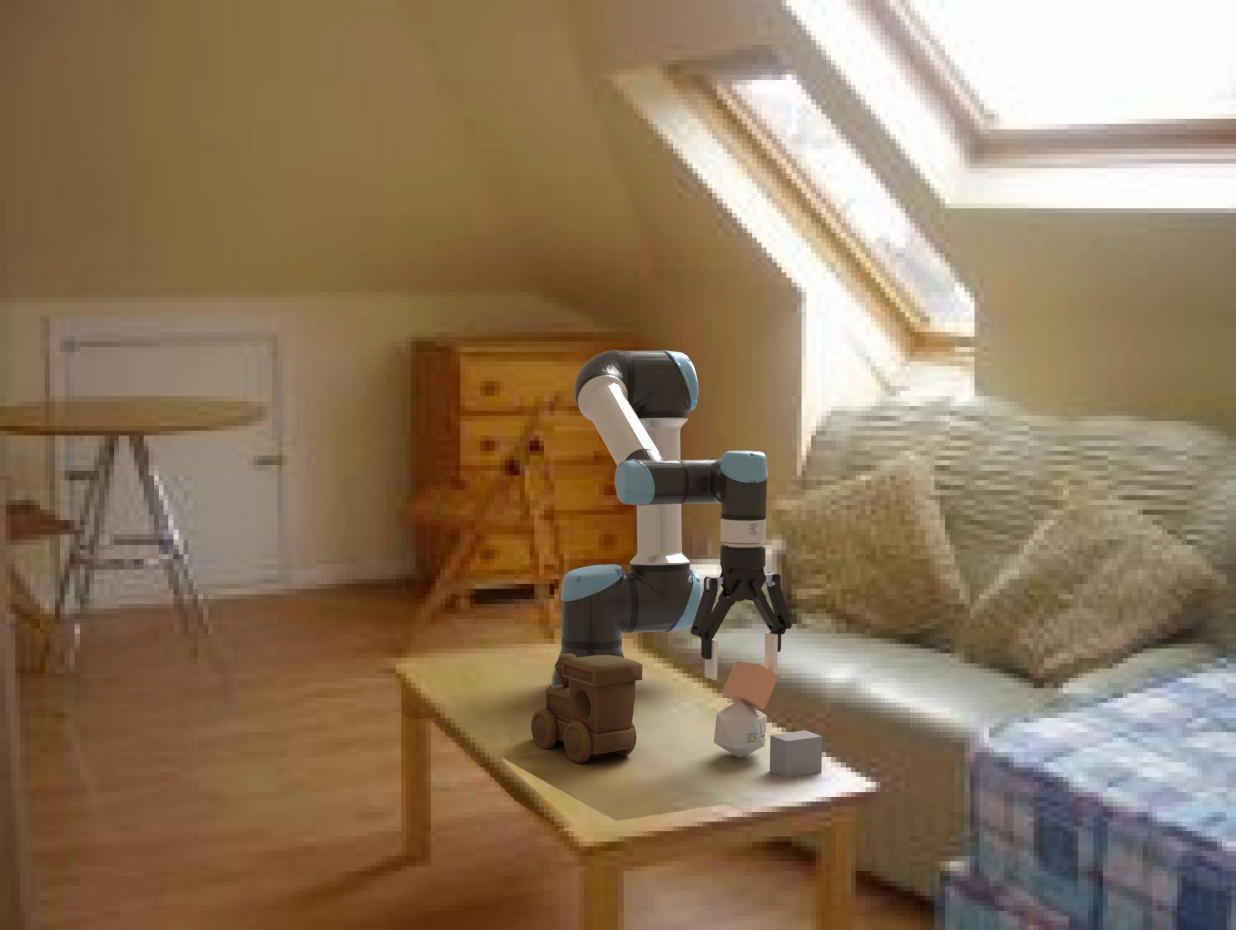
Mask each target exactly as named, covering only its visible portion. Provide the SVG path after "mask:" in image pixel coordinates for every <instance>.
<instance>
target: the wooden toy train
mask: <svg viewBox="0 0 1236 930" xmlns="http://www.w3.org/2000/svg"><path fill="white" fill-rule="evenodd" d="M558 657H559V656H558ZM556 660H557V661H556V662H555V663H554V669H556V671H557V673H558V675H559V678H560V680H561V682H562V685H557V686H553V687H552V686H551V687H548V688H546V691H545V701H544V702H545V703H544V704H545V705H544V708H539V709H538V710H536V711H535V712H534V714H533V715H532V719H531V723H530V731H531V732H530V733H531V736H532V738H533V741H534V743H535V744H536V746H538V747H539V748H542V749H544V750H550V749H552V748H554V747H555V744H556V743H557V741H561V742H563V744H564V749H565V751H566V754H567V756H568V757H569V758H570V760H571V761H572V762H574V763H576V764H583V763H585V762H587V761H588V760H589V758H590V757H591V755H592V754H594V755H601V754H606V753H612V752H614V753H616V754H618V755H619V756H624V757H626V756H628V755H630V754H631V753H632V752H633V751H634V749H635V747H636V744H637V730H636V726H635V725H634V722H633V718H634V711H635V703H636V702H635V701H636V700H635V699H636V681H643V664H642V663H640V662H638V661H636V660H633V659H629V658H626V657H624V658H623V657H619V656H612V655H594V656H586V657H578V658H577V657H576V656H575V654H570V653H565V654H561V655H560V657H559V659H558V658H557V659H556Z"/></svg>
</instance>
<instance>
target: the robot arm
mask: <svg viewBox="0 0 1236 930" xmlns="http://www.w3.org/2000/svg"><path fill="white" fill-rule="evenodd" d="M573 396H574V401H575V404H576V406H577V408H578V410H579V411H580V413H581V414H582V415H583V417H584V418H586V419H587V420H589V421H591V422H592V423H593V425H594V427H595V428H596V430H597V433H598V434H599V436H600V438H601V439H602V441H603V443H604V446H606V448H607V450H608V452H609V454H610V456H611V457H612V458H613V461H614V462H615V465H616V469H615V472H614V487H615V491H616V493H615V494H616V497H617V499H618V501H620V503H622V504H623V505H629V506H630V505H632V506H633V505H636V534H637V535H636V540H637V542H636V543H637V550H636V551H637V552H636V555H635V556H634V557H633V558H631V560H630V561H629V571H626V572H625V571H624V570H623V567H622V566H621V565H620V564H612V563H611V564H610V563H609V564H596V565H589V566H583V567H579V568H575V569H573V570H570V571H568V572H567V573H566V574H565V575H564V576H563V577H562V583H561V592H560V596H559V598H560V601H561V602H560V603H561V605H560V606H561V607H560V608H561V609H560V610H561V611H560V613H561V615H560V616H561V617H560V620H561V623H560V624H561V625H560V629H561V630H560V631H561V632H560V634H561V635H560V639H561V642H560V650H559V651H560V652H559V654H558V658H557V660H558V659H559V657H560V655H561V654H565V653H570V654H575V656H576V657H577V658H578V657H586V656H594V655H612V656H619V657H623V658H625V655H624V652H623V634H635V633H653V632H654V633H655V632H656V633H657V632H665V633H670V632H671V633H672V632H674V631H682V630H686V629H688V628H690V627H691V628H690V634H691V635H692V636H696V637H699V639H700V640H701V641H700V642H701V643H700V647H701V648H700V651H701V652H700V655H701V658H702V659H704V678H707V679H710V680H712V681H714V680H718V661H719V660H718V657H719V655H718V654H719V652H718V651H719V650H718V648H719V647H718V646H719V641H718V639H715V638H714V637H716V634H717V632H718V631H719V629H720V627H721V625H722V623H723V622H724V620H725V618H726V617H727V614H728V613H729V611H730V609H731V608H732V607H733V606H734V605H735V604H736V602H742V601H745V600H747V601H751V602H752V603H753V604H754V605H755V608H756V610H757V611H758V613H759V615H760V616H761V618H762V619H763V621H764V623H765V625H766V626H767V628H768V630H769V631H765V632H764V668H766V669H767V670H769V671H771V672H772V673H774V674H778V655H779V654H778V653H780V652H781V650H782V635H784V634H785V633H787V631H786V630H790V629H791V628H792V627H793V624H792V621H791V617H790V613H789V611H788V607H787V603H786V600H785V597H784V594H783V590H782V587H781V585H782V581H781V579H782V577H781V574H779V573H776V572H772V571H771V572H770V571H769V572H767V573H765V568H766V564H767V563H766V561H767V560H766V559H767V557H766V555H767V552H766V550H767V548H766V547H765V546H764V545H763V544H764V543H766V542H767V540H766V539H767V536H766V535H767V534H766V533H767V496H768V492H767V491H768V489H767V488H768V477H769V476H768V475H769V472H768V466H767V465H768V464H767V456H766V453H764V452H762V451H758V450H757V451H756V450H755V451H754V450H727V451H725V452H723V454H722V456H721V457H717V458H715V457H710V458H706V459H681V429H682V427H683V426H684V425H685V424H686V423H687V422H688V421H689V419H688V418H689V417H688V415H689V414H688V413H691V412H692V411H693V410H695V409H696V407H697V406H698V399H699V381H698V377H697V373H696V369H695V366H694V364H693V362H692V361H691V359H690V358H689V357H688V355H687V354H685V353H683V352H680V351H673V350H667V349H666V350H663V349H662V350H620V349H619V350H617V349H612V350H607V351H602V352H601V353H598V354H596V355H595V356H593V357H592V358H591V357H590V359H589V360H587V361H586V362H585V364H584V365H583V366H582V367H581V368H580V370H579V372H578V373H577V375H576V377H575V380H574V385H573ZM699 504H702V505H704V504H705V505H707V504H717V505H718V504H720V536H719V537H720V538H719V540H720V541H721V542H722V543H723V544H722V545H721V546H720V547H719V548H720V551H719V553H720V555H719V557H720V558H719V562H720V563H719V565H720V569H721V573H720V575H719V577H718V576H717V577H712V576H711V577H710V576H705V577H704V579H703V591H702V584H701V582H700V581H701V578H700V575H699V574H698V573H697V572H696V570H693V569H691V566H690V563H691V561H690V560H689V559H688V558H687V556H685V555H684V553H683V552H682V550H683V545H682V544H683V543H682V541H683V540H682V538H683V536H682V505H699ZM764 584H765V586H766V591H767V594H768V596H769V600H770V603H771V605H770V603H769V602H768V599H767V596H766V594H765V592H764V590H763V589H762V588H763V586H764ZM721 588H722V590H721V592H719V593H720V594H719V595H718V590H720V589H721ZM717 596H718V598H717ZM716 600H717V602H716ZM771 606H772V607H771ZM557 685H562V682H561V680H560V678H559V675H558V673H557V671H556V669H555V668H554V670H553V673H552V677H551V687H553V686H557Z"/></svg>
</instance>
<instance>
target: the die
mask: <svg viewBox="0 0 1236 930" xmlns="http://www.w3.org/2000/svg"><path fill="white" fill-rule="evenodd" d="M767 719H768V715H766V714H765V713H763V712H762V711H760V710H759V709H758V708H756V707H752V706H750V705H749V704H747V703H746V702H744V701H742V700H739V701H737V702H736V701H734V702H733V703H732V704H730V705H728V706H726V707H724V708H723V709H720V710H719V711H717V712H716V718H715V726H714V737H713V743H714V744H715V745H717V746H719V747H720V748H722V749H724V750H725V751H727V752H728V753H730V754H731V755H733V756H735V757H737V758H738V757H739V759H742V758H744V757H746V756H748V755H749V754H752V753H754V752H756V751H757V750H759V749H762V748H763V747H765V743H766V732H767V721H768V720H767Z"/></svg>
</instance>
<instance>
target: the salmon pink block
mask: <svg viewBox="0 0 1236 930" xmlns="http://www.w3.org/2000/svg"><path fill="white" fill-rule="evenodd" d="M778 679H779V675H777V673H772V672H771V671H769V670H767V669H766V668H765V666H762V665H761V664H759V663H751V662H746V661H739V660H735V662H734V663H733V666H732V668H731V670H730V673H729V674H728V676H727V679H726V681H725V684H724V686H723V688H722V691H721V694H722V695H724V696H726V697H728V698H729V699H731V700H733V701H734V702H737V701H739V700H742V701H744V702H746V703H747V704H749V705H750V706H752V707H754V708H755V709H762V710H765V709H766V706H767V704H768V702H769V700H770V698H771V695H772V692H773V690H774V688H775V686H776V683H777V682H778Z"/></svg>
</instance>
